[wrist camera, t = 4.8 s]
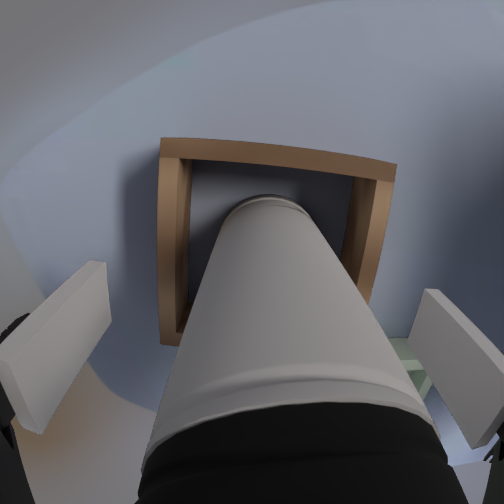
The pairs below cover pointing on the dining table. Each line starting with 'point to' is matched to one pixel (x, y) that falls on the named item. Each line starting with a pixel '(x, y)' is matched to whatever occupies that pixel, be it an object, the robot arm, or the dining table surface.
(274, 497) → the travel mug
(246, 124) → the dining table surface
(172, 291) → the holder
